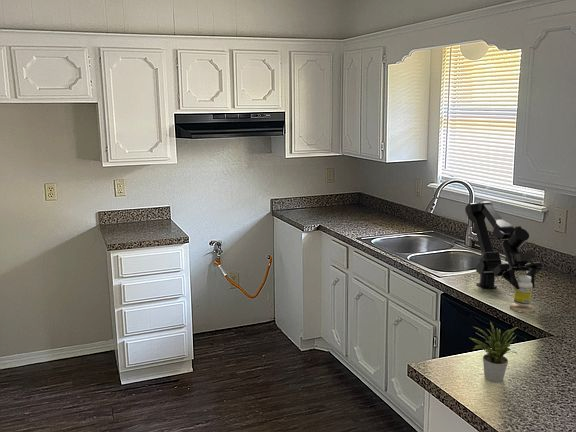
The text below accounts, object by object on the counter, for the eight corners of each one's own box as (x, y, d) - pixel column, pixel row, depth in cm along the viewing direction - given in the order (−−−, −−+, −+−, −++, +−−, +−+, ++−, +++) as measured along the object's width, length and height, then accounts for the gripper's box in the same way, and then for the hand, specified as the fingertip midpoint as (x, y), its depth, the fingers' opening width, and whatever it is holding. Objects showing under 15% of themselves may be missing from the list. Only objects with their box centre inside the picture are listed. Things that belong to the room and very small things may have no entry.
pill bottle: (519, 299, 234) (521, 273, 231) (533, 304, 229) (536, 277, 226) (510, 303, 230) (513, 276, 227) (525, 307, 225) (528, 280, 223)
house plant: (491, 361, 184) (495, 312, 181) (530, 379, 173) (535, 327, 169) (460, 373, 176) (464, 322, 173) (498, 392, 165) (503, 338, 162)
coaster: (505, 305, 233) (505, 303, 233) (525, 303, 235) (525, 301, 235) (518, 313, 224) (518, 311, 224) (539, 311, 226) (539, 309, 226)
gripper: (500, 244, 226) (513, 280, 218) (543, 242, 230) (558, 278, 222) (487, 258, 236) (500, 293, 227) (529, 255, 239) (543, 290, 231)
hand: (525, 288), depth 227 cm, fingers closed on pill bottle, 6 cm apart
